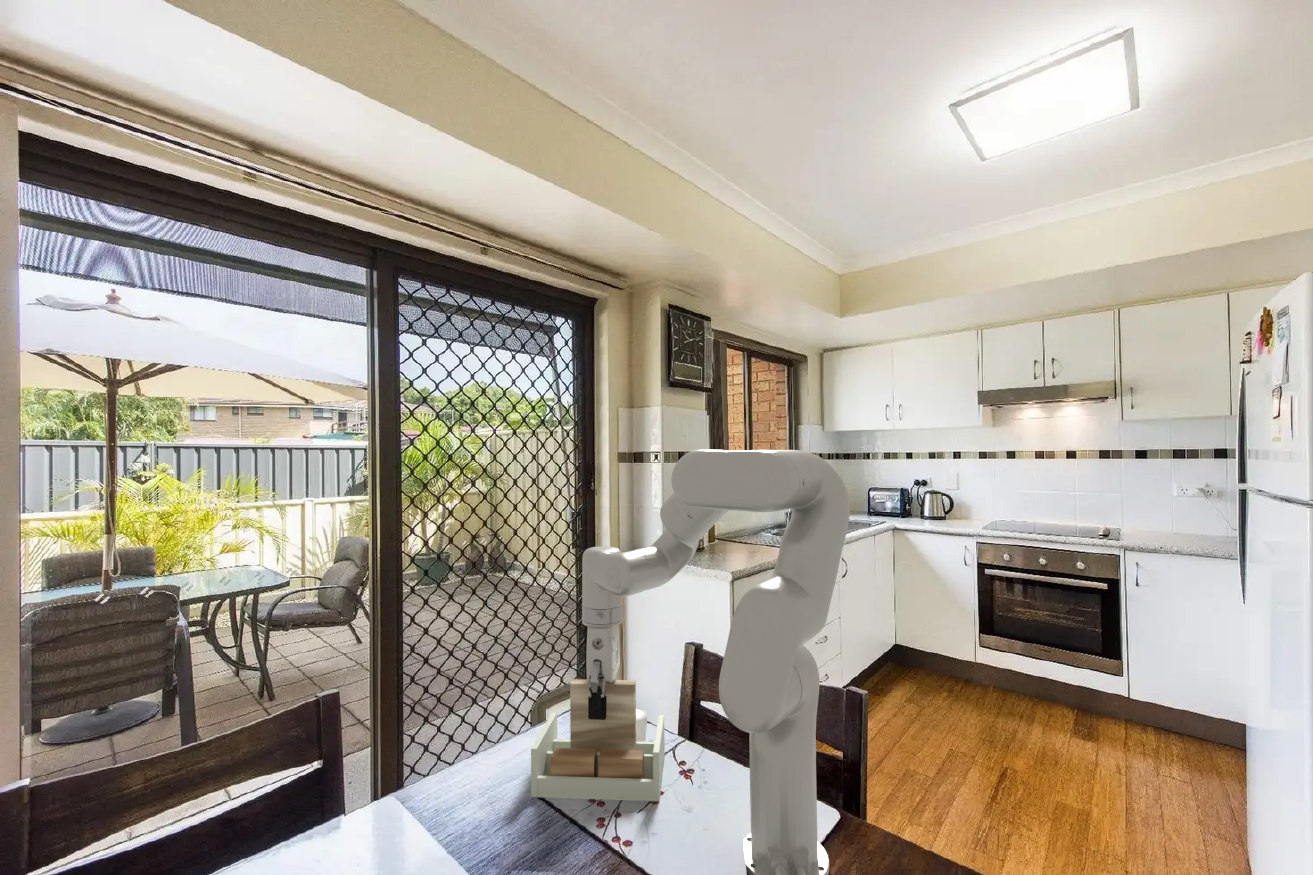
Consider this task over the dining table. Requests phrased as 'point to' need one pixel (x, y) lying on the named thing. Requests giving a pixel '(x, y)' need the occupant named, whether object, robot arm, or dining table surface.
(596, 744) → the birch sheet
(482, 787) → the dining table surface
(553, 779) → the rack
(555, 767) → the offcut
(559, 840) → the dining table surface
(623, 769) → the offcut
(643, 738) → the white cup
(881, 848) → the dining table surface
